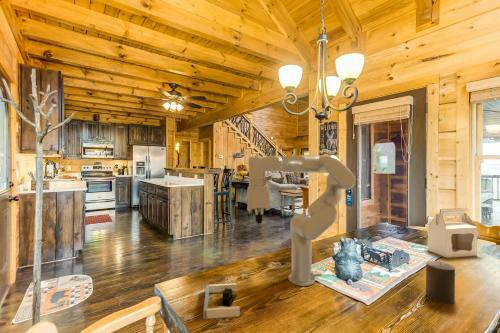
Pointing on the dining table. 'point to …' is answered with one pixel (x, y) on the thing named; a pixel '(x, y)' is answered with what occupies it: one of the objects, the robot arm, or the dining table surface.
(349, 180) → the robot arm
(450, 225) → the gable box
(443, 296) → the pillar candle
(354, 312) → the dining table surface
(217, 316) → the u-shaped wooden bracket
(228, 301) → the black boxy piece
